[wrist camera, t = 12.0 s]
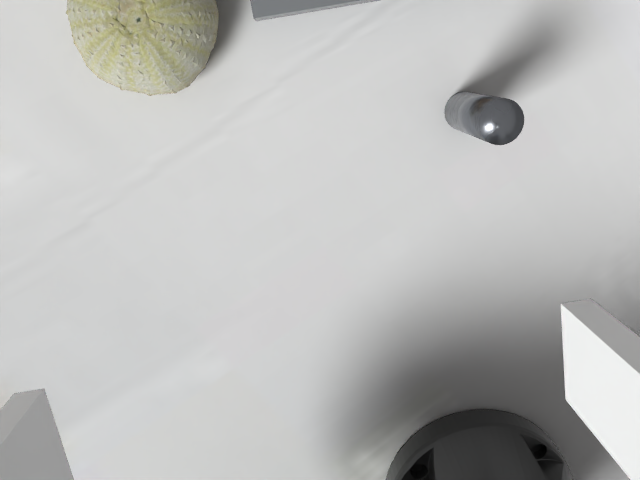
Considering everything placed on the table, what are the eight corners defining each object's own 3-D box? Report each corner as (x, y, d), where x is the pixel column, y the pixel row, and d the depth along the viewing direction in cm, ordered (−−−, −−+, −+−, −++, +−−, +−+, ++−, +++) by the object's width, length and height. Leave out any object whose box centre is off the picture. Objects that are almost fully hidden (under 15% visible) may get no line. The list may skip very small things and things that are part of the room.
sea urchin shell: (156, -108, 36) (192, -30, 32) (217, -8, 43) (253, 66, 39) (27, -29, 37) (47, 56, 33) (107, 57, 43) (131, 136, 40)
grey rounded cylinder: (483, 126, 42) (525, 140, 35) (446, 132, 42) (480, 148, 35) (480, 89, 41) (522, 94, 34) (442, 95, 42) (476, 102, 34)
